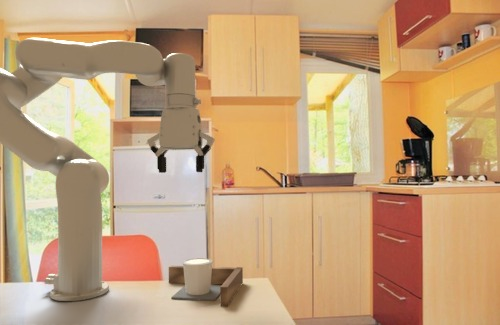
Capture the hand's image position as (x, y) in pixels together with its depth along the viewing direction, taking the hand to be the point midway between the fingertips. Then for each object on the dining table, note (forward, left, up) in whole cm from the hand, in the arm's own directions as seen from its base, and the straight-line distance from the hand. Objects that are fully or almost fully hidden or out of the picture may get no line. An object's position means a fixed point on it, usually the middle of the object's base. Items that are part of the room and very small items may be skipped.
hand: (180, 172), depth 93 cm
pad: (+6, -4, -28) cm, 29 cm away
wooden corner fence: (+5, -4, -28) cm, 29 cm away
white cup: (+6, -4, -28) cm, 29 cm away
